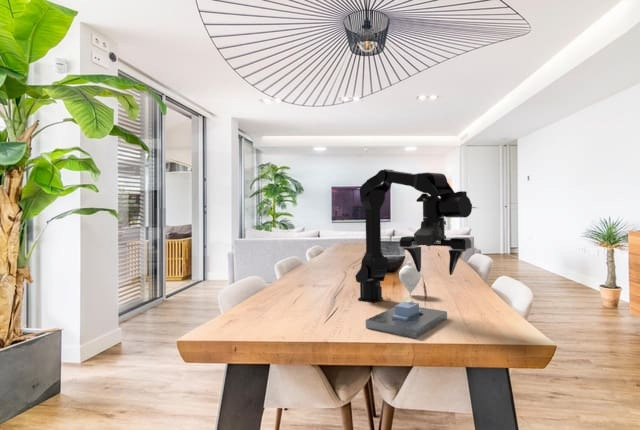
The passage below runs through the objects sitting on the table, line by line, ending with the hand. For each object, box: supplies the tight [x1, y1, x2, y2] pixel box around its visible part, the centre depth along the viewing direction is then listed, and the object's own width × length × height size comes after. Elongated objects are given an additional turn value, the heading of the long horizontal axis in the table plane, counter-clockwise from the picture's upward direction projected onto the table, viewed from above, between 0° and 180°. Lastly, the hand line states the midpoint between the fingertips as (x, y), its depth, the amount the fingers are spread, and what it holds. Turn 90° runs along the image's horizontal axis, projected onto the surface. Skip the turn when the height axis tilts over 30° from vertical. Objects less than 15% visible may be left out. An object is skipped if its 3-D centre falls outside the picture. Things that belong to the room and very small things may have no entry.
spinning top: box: [398, 260, 422, 296], centre depth 132 cm, size 8×8×12 cm
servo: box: [392, 299, 422, 321], centre depth 99 cm, size 4×10×6 cm, turn 140°
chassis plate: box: [365, 306, 448, 339], centre depth 99 cm, size 20×14×2 cm
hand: (434, 273), depth 103 cm, fingers open, 9 cm apart
